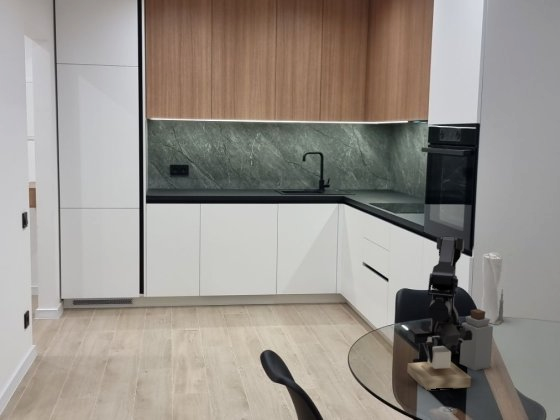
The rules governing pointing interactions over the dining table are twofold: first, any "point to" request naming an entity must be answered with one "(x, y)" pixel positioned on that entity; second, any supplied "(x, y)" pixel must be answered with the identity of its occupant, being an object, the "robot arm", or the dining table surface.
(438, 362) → the cream cube
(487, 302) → the skyscraper
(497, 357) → the dining table surface
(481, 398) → the dining table surface
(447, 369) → the oak base
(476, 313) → the perfume bottle
